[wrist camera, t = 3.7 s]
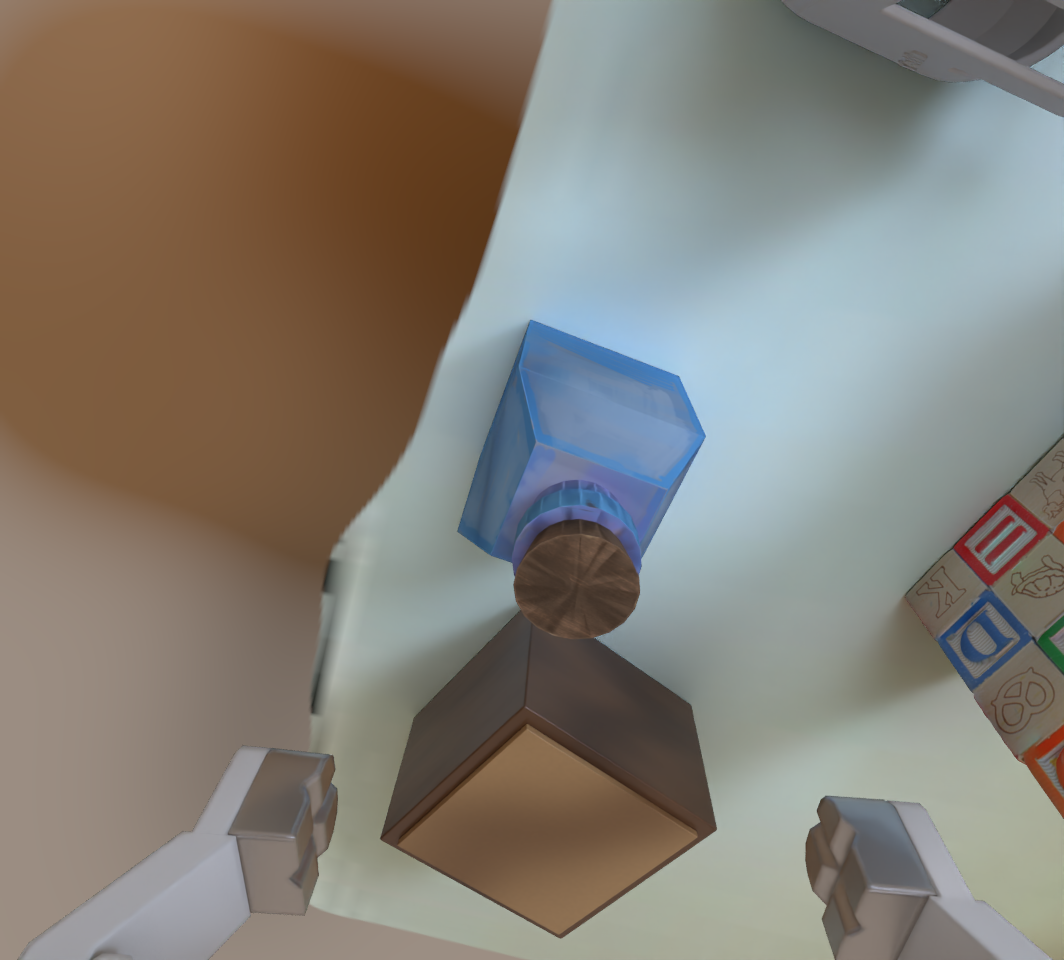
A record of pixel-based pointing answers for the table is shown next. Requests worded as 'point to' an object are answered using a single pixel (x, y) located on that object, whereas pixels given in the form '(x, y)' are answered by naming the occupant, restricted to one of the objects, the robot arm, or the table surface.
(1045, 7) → the cable organizer
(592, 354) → the perfume bottle
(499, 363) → the table surface
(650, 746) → the walnut block
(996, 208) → the table surface
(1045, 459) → the stack of blocks
